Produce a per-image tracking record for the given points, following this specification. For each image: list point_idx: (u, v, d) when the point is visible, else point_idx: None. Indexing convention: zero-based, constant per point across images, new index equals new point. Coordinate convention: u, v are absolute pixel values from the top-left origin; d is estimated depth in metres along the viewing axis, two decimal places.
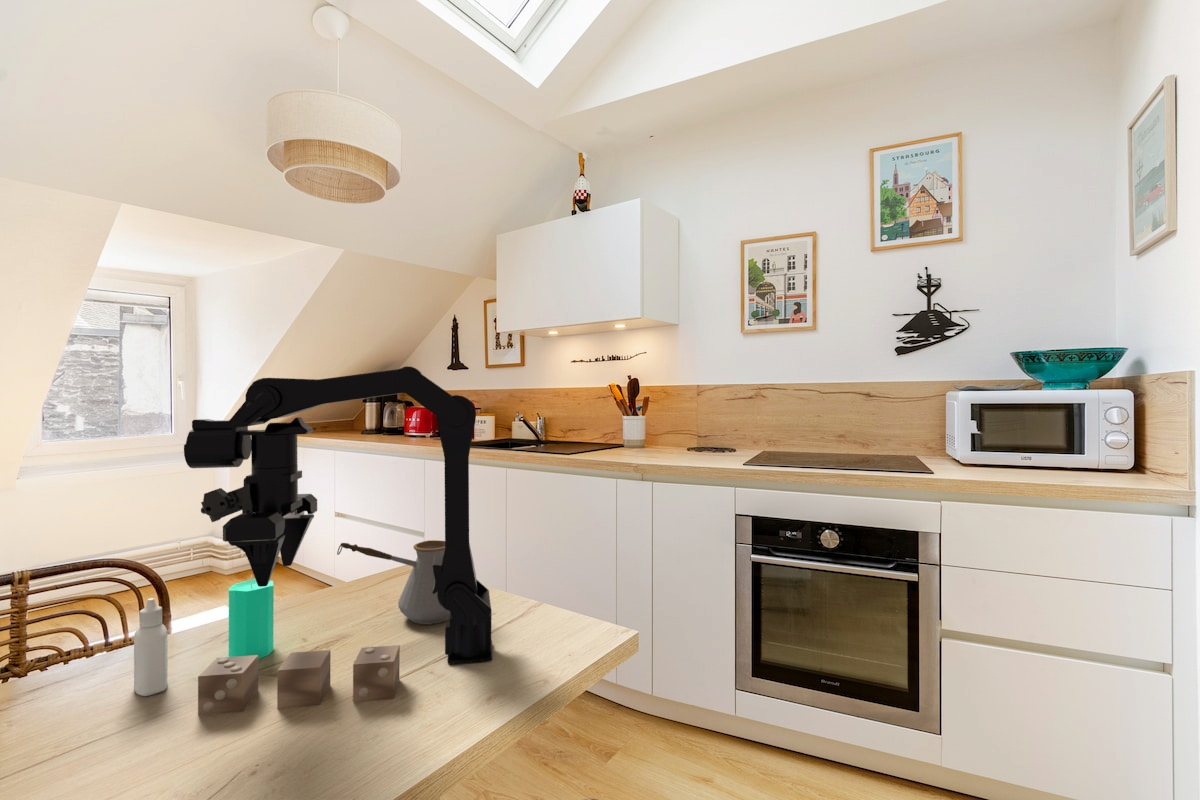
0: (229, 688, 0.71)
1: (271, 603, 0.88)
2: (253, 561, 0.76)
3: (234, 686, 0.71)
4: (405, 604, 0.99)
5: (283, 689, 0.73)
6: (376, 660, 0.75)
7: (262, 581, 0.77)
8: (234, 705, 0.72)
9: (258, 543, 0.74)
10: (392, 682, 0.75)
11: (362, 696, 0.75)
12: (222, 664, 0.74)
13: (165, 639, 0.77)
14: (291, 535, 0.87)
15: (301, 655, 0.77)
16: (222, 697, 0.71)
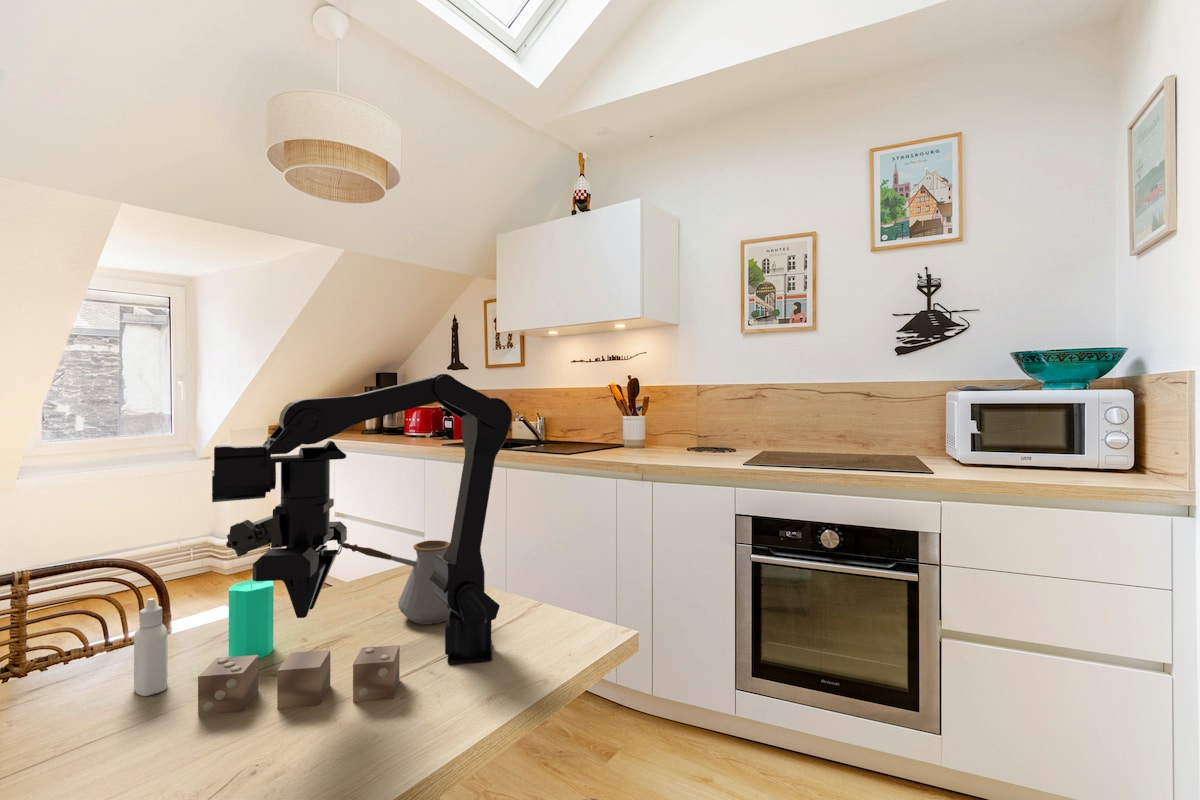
0: (229, 688, 0.71)
1: (271, 603, 0.88)
2: (292, 592, 0.73)
3: (234, 686, 0.71)
4: (405, 604, 0.99)
5: (283, 689, 0.73)
6: (376, 660, 0.75)
7: (301, 612, 0.74)
8: (234, 705, 0.72)
9: None
10: (392, 682, 0.75)
11: (362, 696, 0.75)
12: (222, 664, 0.74)
13: (165, 639, 0.77)
14: None
15: (301, 655, 0.77)
16: (222, 697, 0.71)
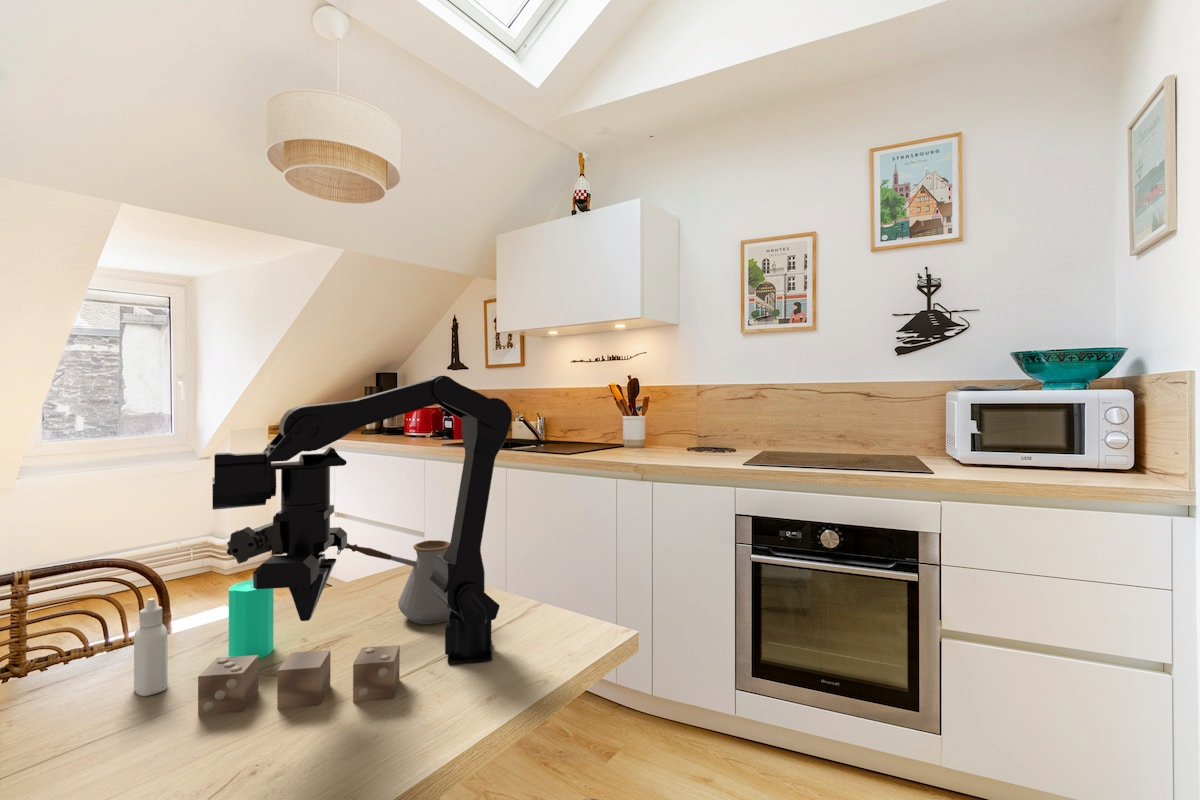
0: (229, 688, 0.71)
1: (271, 603, 0.88)
2: (296, 595, 0.74)
3: (234, 686, 0.71)
4: (405, 604, 0.99)
5: (283, 689, 0.73)
6: (376, 660, 0.75)
7: (304, 615, 0.75)
8: (234, 705, 0.72)
9: None
10: (392, 682, 0.75)
11: (362, 696, 0.75)
12: (222, 664, 0.74)
13: (165, 639, 0.77)
14: None
15: (301, 655, 0.77)
16: (222, 697, 0.71)
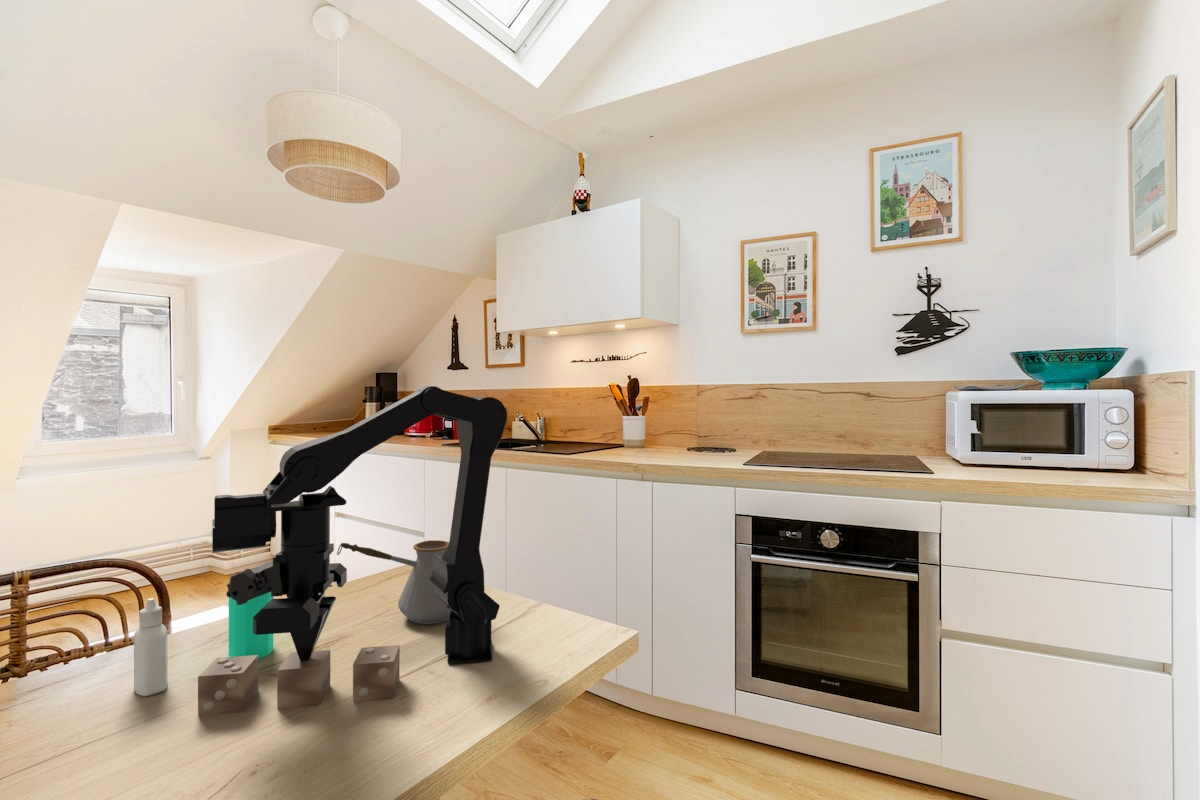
0: (229, 688, 0.71)
1: None
2: (296, 636, 0.74)
3: (234, 686, 0.71)
4: (405, 604, 0.99)
5: (283, 689, 0.73)
6: (376, 660, 0.75)
7: (304, 655, 0.75)
8: (234, 705, 0.72)
9: None
10: (392, 682, 0.75)
11: (362, 696, 0.75)
12: (222, 664, 0.74)
13: (165, 639, 0.77)
14: None
15: None
16: (222, 697, 0.71)
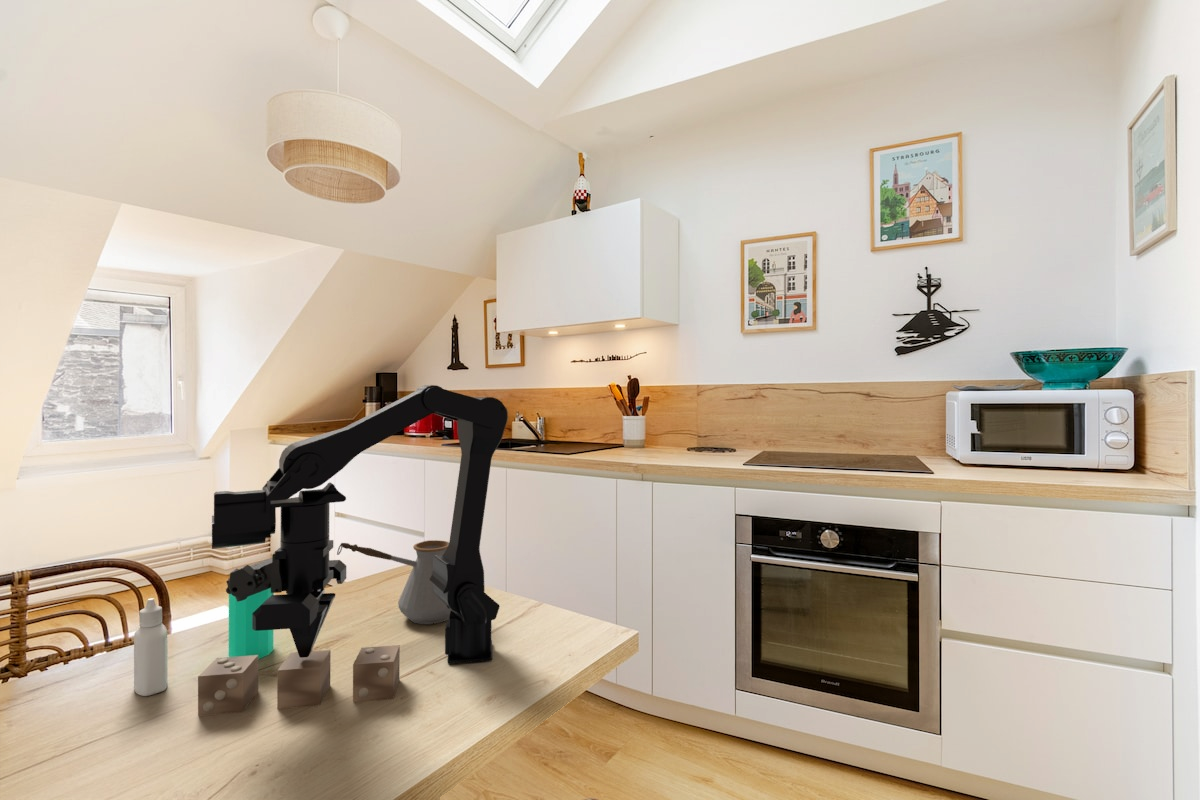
0: (229, 687, 0.71)
1: None
2: (295, 632, 0.74)
3: (234, 686, 0.71)
4: (405, 604, 0.99)
5: (283, 689, 0.73)
6: (376, 660, 0.75)
7: (303, 652, 0.75)
8: (234, 705, 0.72)
9: None
10: (392, 682, 0.75)
11: (362, 696, 0.75)
12: (222, 664, 0.74)
13: (165, 639, 0.77)
14: None
15: None
16: (222, 697, 0.71)
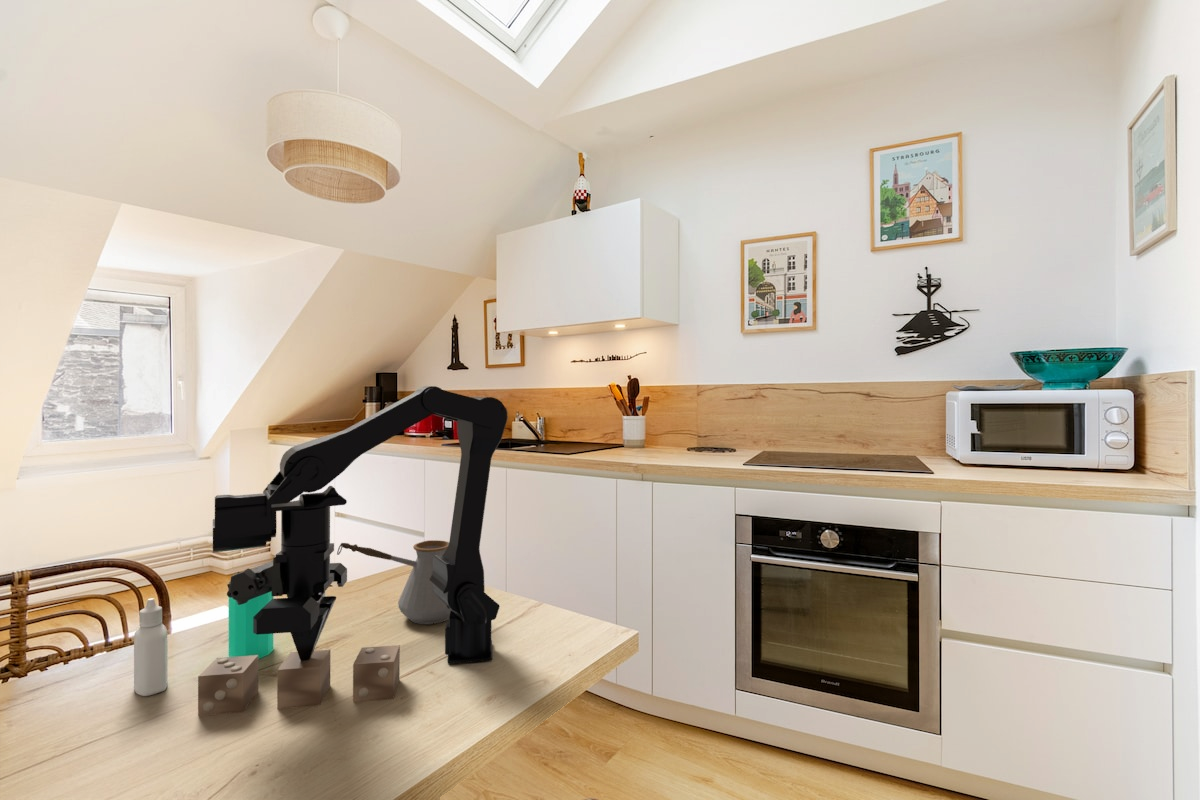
0: (229, 688, 0.71)
1: None
2: (296, 636, 0.74)
3: (234, 686, 0.71)
4: (405, 604, 0.99)
5: (283, 688, 0.73)
6: (376, 660, 0.75)
7: (304, 655, 0.75)
8: (234, 705, 0.72)
9: None
10: (392, 682, 0.75)
11: (362, 696, 0.75)
12: (222, 664, 0.74)
13: (165, 639, 0.77)
14: None
15: None
16: (223, 697, 0.71)
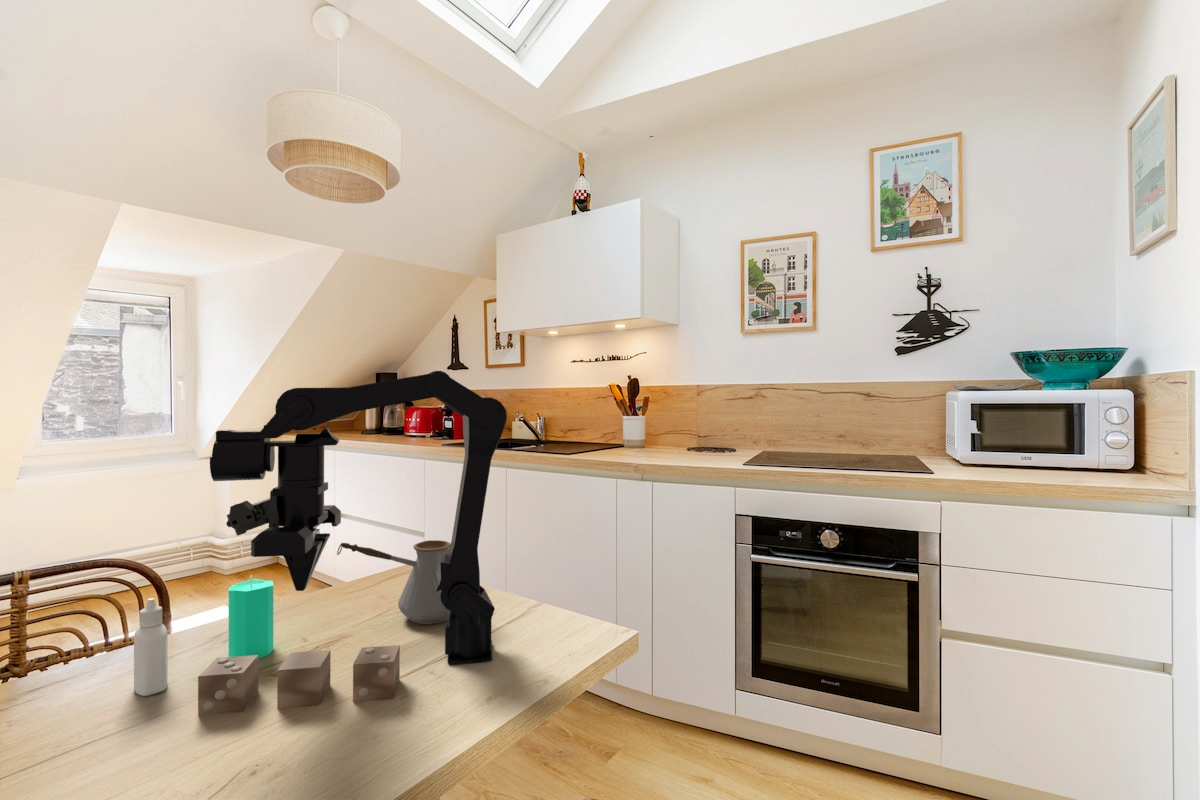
0: (229, 688, 0.71)
1: (271, 603, 0.88)
2: (292, 566, 0.78)
3: (234, 686, 0.71)
4: (405, 604, 0.99)
5: (283, 689, 0.73)
6: (376, 660, 0.75)
7: (299, 586, 0.79)
8: (234, 705, 0.72)
9: None
10: (392, 682, 0.75)
11: (362, 696, 0.75)
12: (222, 664, 0.74)
13: (165, 639, 0.77)
14: None
15: (301, 655, 0.77)
16: (223, 697, 0.71)
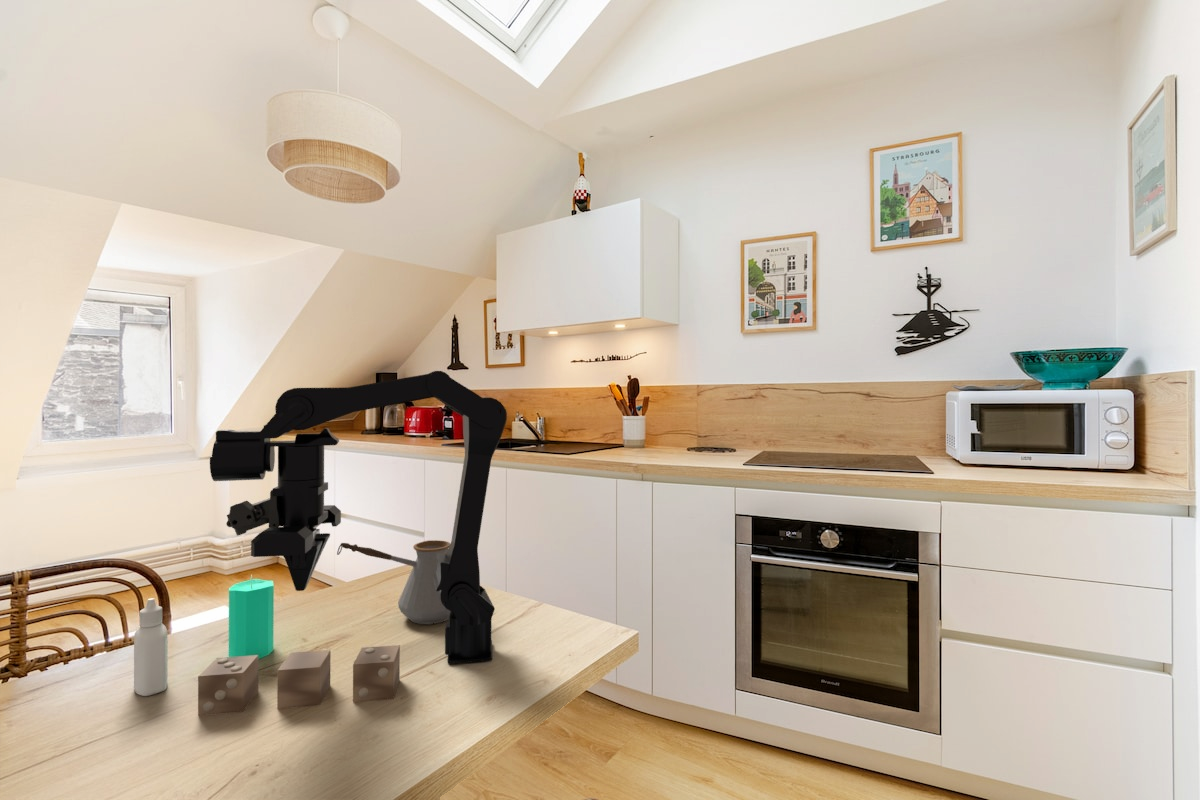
0: (229, 688, 0.71)
1: (271, 603, 0.88)
2: (292, 566, 0.78)
3: (234, 686, 0.72)
4: (405, 604, 0.99)
5: (283, 689, 0.73)
6: (376, 660, 0.75)
7: (299, 586, 0.79)
8: (234, 705, 0.72)
9: None
10: (392, 682, 0.75)
11: (362, 696, 0.75)
12: (222, 664, 0.74)
13: (165, 639, 0.77)
14: None
15: (301, 655, 0.77)
16: (223, 697, 0.71)
